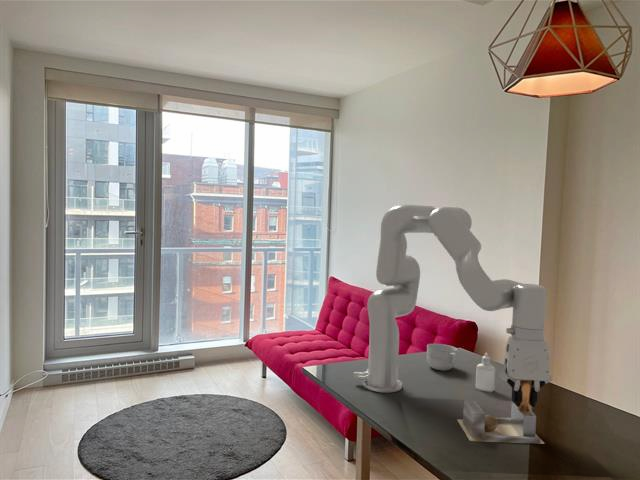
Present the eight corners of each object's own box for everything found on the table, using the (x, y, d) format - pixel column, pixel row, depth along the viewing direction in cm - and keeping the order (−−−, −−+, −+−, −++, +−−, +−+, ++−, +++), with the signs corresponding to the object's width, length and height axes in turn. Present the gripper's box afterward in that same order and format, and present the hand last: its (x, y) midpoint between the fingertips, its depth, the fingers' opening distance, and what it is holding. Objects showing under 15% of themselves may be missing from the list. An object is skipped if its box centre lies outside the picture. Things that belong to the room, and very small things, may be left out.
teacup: (421, 363, 180) (422, 342, 180) (448, 362, 182) (449, 342, 182) (437, 376, 167) (438, 353, 166) (466, 375, 169) (467, 353, 168)
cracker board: (469, 446, 117) (471, 416, 116) (456, 424, 129) (458, 397, 128) (544, 449, 116) (546, 419, 116) (524, 427, 128) (525, 399, 128)
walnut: (483, 433, 121) (484, 418, 120) (478, 426, 125) (479, 411, 124) (499, 434, 121) (500, 418, 120) (494, 427, 125) (494, 412, 124)
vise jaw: (522, 437, 118) (525, 383, 118) (510, 423, 126) (513, 372, 126) (535, 438, 118) (538, 384, 118) (522, 423, 126) (524, 373, 126)
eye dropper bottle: (486, 393, 152) (488, 356, 151) (473, 387, 157) (474, 351, 156) (496, 391, 154) (498, 354, 153) (482, 385, 159) (484, 350, 158)
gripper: (500, 336, 117) (496, 409, 118) (567, 338, 117) (563, 412, 118) (490, 328, 125) (486, 397, 126) (553, 330, 124) (549, 400, 126)
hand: (523, 404), depth 122 cm, fingers closed on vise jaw, 3 cm apart
